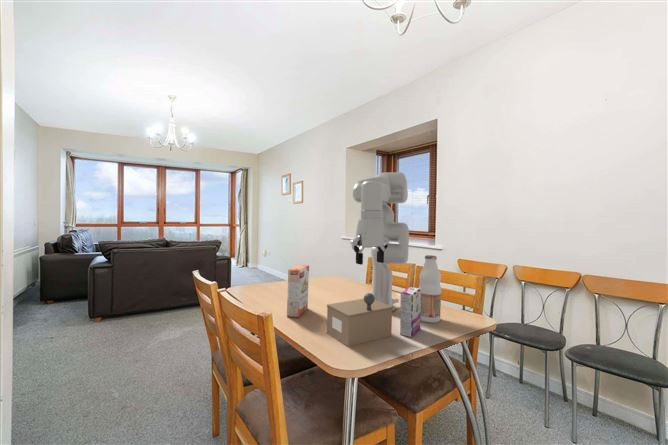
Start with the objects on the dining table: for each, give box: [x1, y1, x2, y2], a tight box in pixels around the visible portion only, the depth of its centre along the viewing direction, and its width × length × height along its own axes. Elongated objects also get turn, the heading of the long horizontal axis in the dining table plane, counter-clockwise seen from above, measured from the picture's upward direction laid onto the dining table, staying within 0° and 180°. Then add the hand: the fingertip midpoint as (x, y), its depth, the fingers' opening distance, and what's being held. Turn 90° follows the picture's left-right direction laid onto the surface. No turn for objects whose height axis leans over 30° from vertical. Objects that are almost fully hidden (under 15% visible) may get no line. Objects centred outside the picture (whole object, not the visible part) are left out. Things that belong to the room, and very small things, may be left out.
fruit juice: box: [418, 254, 442, 324], centre depth 133 cm, size 9×9×28 cm
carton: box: [326, 306, 393, 348], centre depth 115 cm, size 20×14×10 cm
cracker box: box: [286, 264, 310, 318], centre depth 138 cm, size 14×6×21 cm, turn 168°
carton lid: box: [326, 292, 393, 318], centre depth 114 cm, size 20×14×7 cm
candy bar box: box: [399, 286, 422, 338], centre depth 118 cm, size 11×5×16 cm, turn 148°
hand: (369, 263), depth 109 cm, fingers open, 9 cm apart
